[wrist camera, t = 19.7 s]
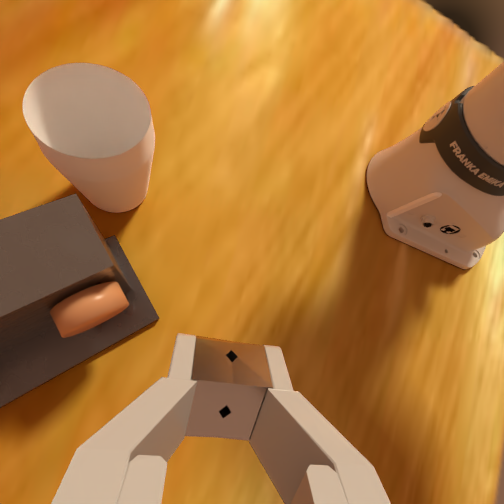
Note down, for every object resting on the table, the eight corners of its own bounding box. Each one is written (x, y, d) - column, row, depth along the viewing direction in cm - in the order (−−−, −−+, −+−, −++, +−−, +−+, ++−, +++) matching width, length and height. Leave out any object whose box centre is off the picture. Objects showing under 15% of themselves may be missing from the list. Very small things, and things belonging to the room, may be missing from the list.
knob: (132, 307, 25) (124, 299, 21) (73, 337, 24) (50, 337, 19) (86, 219, 26) (69, 193, 22) (26, 242, 25) (-7, 219, 20)
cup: (149, 230, 32) (138, 174, 21) (60, 213, 30) (-2, 141, 19) (165, 163, 35) (163, 82, 24) (85, 143, 33) (44, 45, 22)
